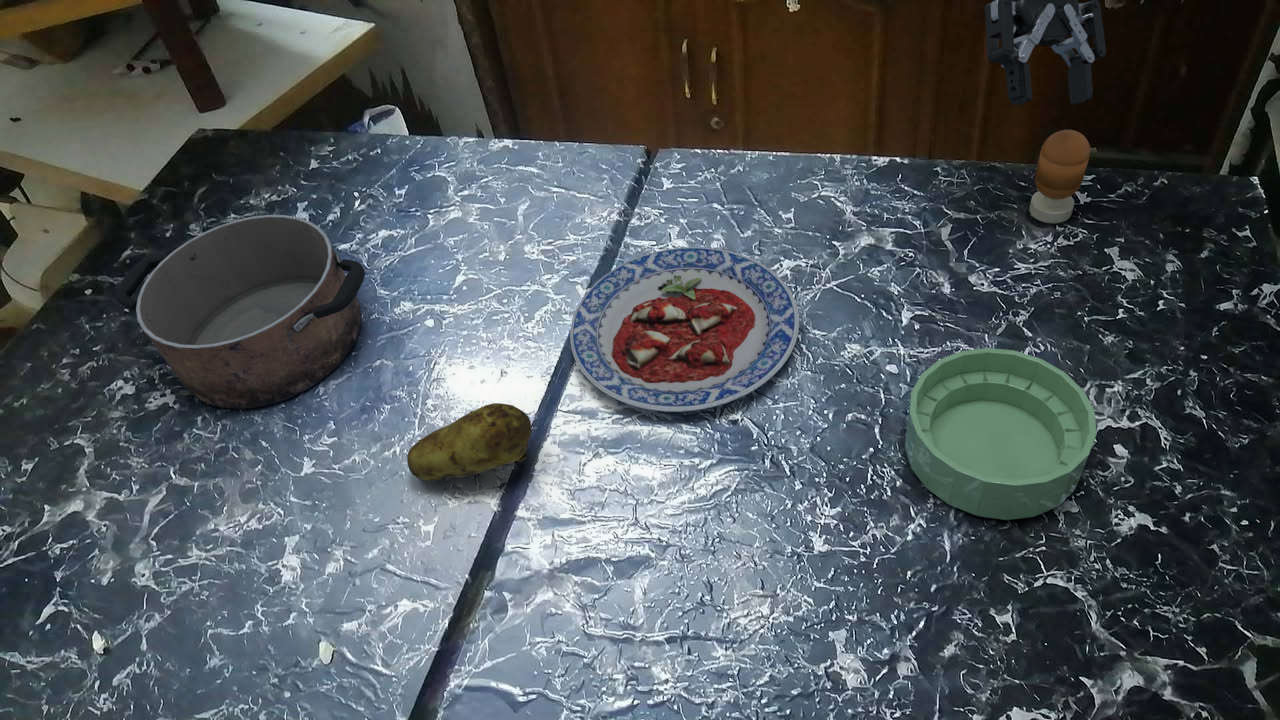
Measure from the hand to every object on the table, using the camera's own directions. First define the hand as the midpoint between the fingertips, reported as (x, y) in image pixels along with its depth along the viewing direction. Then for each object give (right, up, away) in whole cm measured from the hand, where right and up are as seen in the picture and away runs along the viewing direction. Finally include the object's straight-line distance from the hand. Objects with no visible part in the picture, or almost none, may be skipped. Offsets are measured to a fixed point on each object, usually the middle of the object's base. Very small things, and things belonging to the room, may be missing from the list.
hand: (1052, 103), depth 96 cm
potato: (-60, -38, 0) cm, 71 cm away
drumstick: (+7, -9, +16) cm, 20 cm away
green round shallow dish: (-9, -36, -6) cm, 37 cm away
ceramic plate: (-38, -24, +10) cm, 46 cm away
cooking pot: (-88, -25, +17) cm, 93 cm away
